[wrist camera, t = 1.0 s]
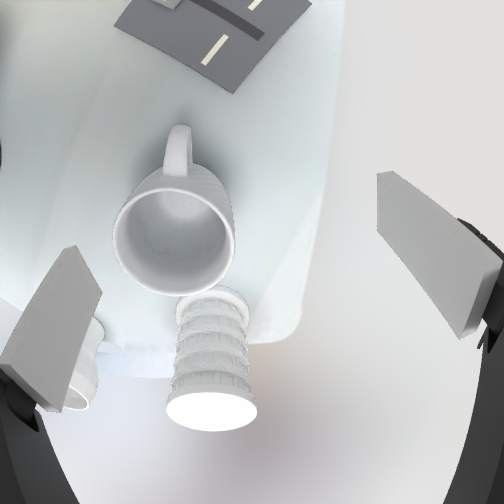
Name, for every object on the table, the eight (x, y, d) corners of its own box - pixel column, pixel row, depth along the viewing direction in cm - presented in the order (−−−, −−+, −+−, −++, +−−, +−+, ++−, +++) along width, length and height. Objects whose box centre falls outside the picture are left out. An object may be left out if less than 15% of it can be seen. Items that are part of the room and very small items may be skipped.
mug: (142, 118, 30) (98, 141, 19) (237, 118, 32) (243, 139, 21) (147, 231, 38) (121, 295, 27) (230, 233, 40) (233, 299, 29)
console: (119, 28, 24) (108, 24, 21) (194, -58, 19) (191, -70, 16) (232, 93, 30) (232, 94, 27) (307, 7, 25) (316, 0, 22)
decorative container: (248, 282, 44) (260, 387, 29) (249, 335, 50) (259, 429, 35) (170, 286, 43) (151, 390, 28) (182, 338, 50) (174, 432, 35)
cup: (122, 329, 48) (103, 402, 35) (97, 352, 51) (79, 417, 38) (72, 295, 43) (39, 365, 30) (53, 323, 46) (25, 386, 34)
